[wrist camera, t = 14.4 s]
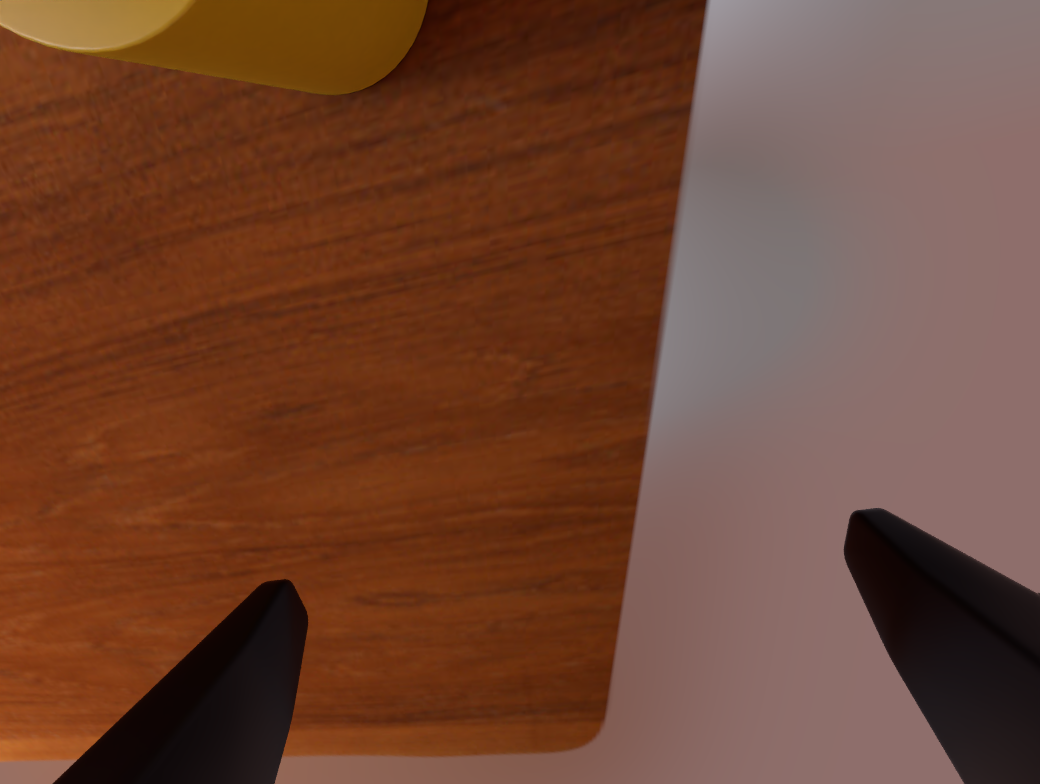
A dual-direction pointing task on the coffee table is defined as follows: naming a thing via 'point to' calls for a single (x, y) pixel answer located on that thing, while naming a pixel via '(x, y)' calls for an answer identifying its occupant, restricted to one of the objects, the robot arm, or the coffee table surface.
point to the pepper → (233, 36)
